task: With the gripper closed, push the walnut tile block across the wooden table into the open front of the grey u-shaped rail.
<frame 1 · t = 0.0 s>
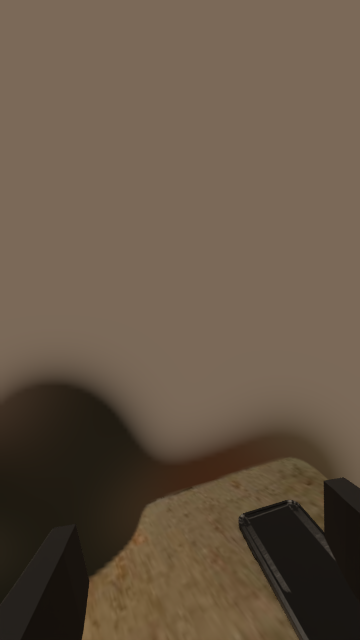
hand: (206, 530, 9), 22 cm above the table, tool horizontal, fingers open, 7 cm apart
phone: (304, 573, 29), on the table
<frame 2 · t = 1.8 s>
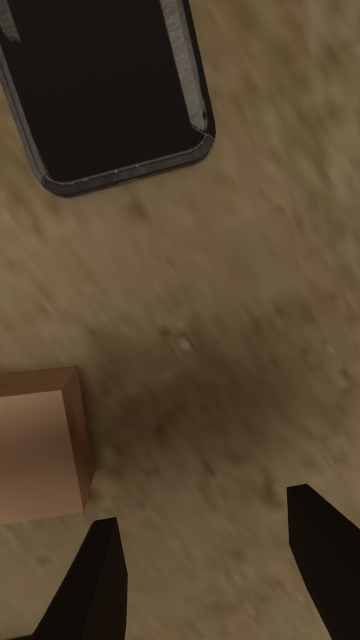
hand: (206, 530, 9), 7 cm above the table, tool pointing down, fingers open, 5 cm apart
walnut tile: (29, 425, 16), on the table
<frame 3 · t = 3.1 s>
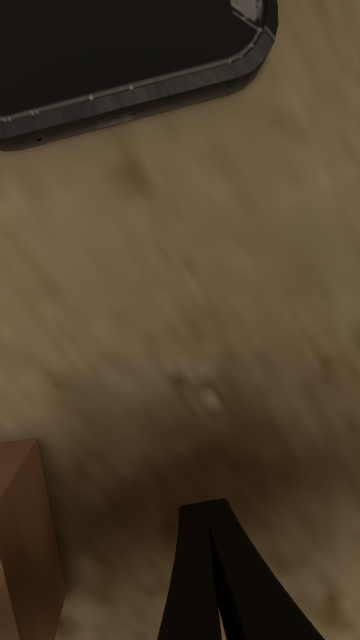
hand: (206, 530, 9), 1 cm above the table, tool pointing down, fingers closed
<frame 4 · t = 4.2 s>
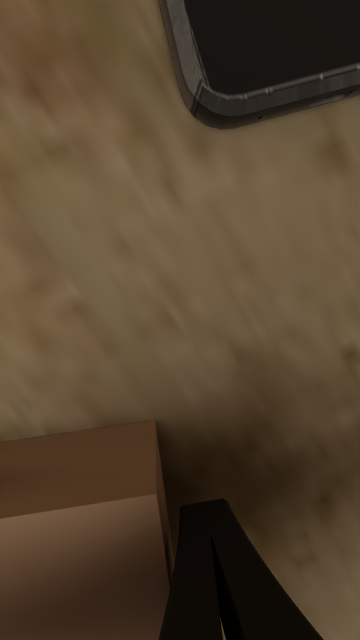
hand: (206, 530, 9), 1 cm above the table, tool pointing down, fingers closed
walnut tile: (74, 514, 10), on the table
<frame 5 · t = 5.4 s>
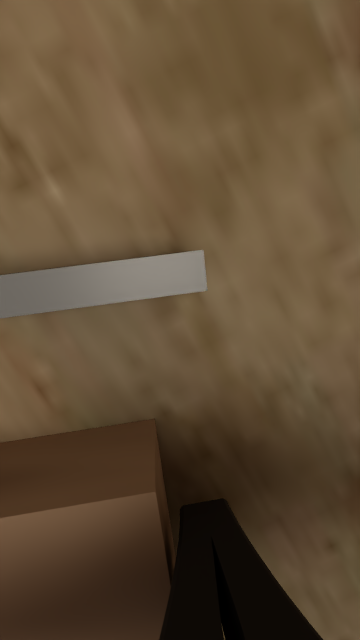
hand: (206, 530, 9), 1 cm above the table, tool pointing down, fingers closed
grey u-shaped rail: (34, 521, 10), on the table
walnut tile: (75, 514, 10), on the table
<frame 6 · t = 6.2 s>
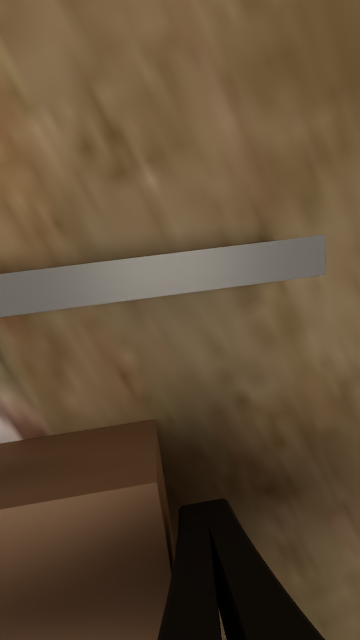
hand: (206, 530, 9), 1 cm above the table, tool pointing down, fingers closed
grey u-shaped rail: (110, 508, 10), on the table
walnut tile: (78, 507, 10), on the table
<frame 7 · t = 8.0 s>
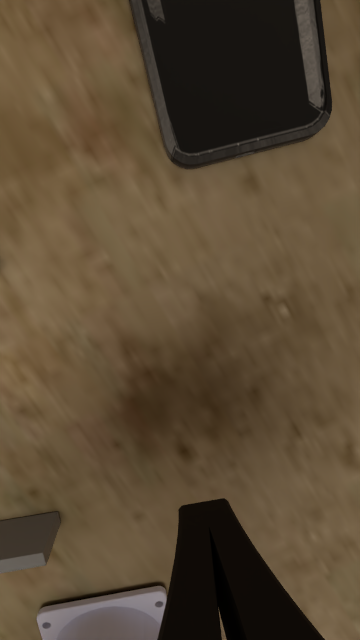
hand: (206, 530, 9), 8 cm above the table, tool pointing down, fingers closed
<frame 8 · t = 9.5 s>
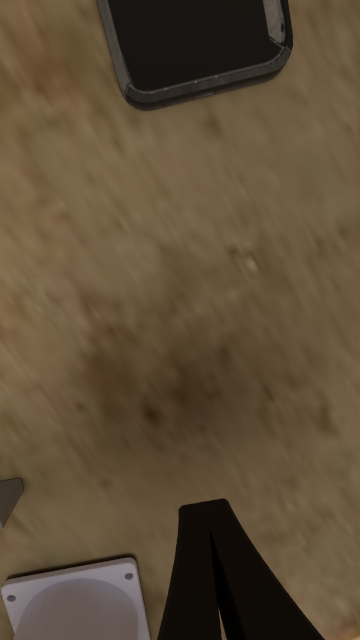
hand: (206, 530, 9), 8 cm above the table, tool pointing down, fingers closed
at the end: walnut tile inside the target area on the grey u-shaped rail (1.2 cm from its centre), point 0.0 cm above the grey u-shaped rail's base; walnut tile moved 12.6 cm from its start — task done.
